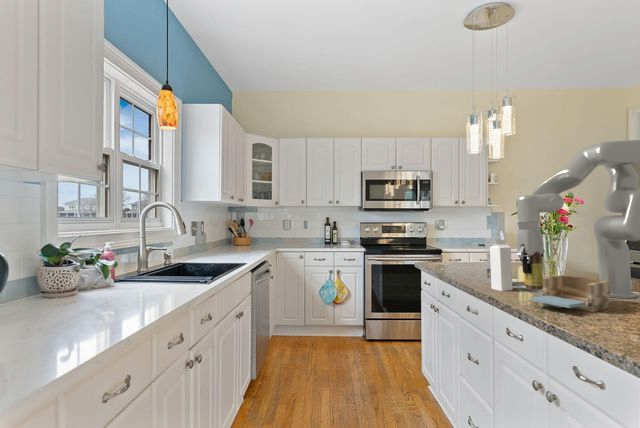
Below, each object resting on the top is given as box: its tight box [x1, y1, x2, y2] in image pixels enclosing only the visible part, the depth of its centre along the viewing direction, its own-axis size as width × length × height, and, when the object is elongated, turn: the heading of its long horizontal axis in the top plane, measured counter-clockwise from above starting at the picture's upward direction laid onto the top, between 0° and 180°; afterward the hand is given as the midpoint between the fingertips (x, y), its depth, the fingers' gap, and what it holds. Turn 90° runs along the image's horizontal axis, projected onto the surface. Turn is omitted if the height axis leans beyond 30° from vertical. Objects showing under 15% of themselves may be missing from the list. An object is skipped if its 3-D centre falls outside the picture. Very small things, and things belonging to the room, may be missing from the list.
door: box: [529, 295, 586, 309], centre depth 117 cm, size 10×12×2 cm
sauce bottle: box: [523, 252, 544, 291], centre depth 133 cm, size 6×6×20 cm
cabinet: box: [542, 274, 612, 313], centre depth 121 cm, size 12×16×9 cm
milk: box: [489, 239, 513, 292], centre depth 151 cm, size 6×6×22 cm
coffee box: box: [486, 250, 491, 285], centre depth 164 cm, size 9×6×16 cm
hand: (532, 271), depth 133 cm, fingers closed on sauce bottle, 6 cm apart
